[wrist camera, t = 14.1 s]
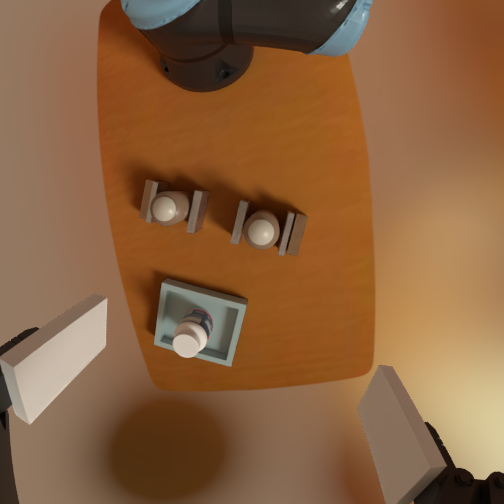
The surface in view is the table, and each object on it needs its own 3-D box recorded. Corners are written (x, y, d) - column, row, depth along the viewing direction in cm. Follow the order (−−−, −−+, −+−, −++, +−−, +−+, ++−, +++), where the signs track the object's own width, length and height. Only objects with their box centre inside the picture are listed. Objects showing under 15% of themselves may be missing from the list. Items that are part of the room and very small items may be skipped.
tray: (167, 278, 49) (161, 282, 47) (248, 299, 49) (246, 305, 46) (158, 338, 52) (154, 344, 49) (232, 359, 51) (230, 366, 49)
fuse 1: (172, 188, 46) (151, 188, 37) (199, 194, 46) (183, 195, 37) (167, 216, 47) (145, 222, 38) (193, 222, 47) (176, 230, 38)
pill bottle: (214, 336, 50) (203, 364, 42) (185, 333, 51) (169, 359, 42) (214, 308, 49) (202, 333, 40) (184, 305, 49) (167, 328, 41)
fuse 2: (252, 206, 46) (247, 210, 37) (281, 213, 46) (283, 219, 37) (245, 235, 47) (239, 245, 38) (274, 242, 47) (274, 254, 38)
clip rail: (153, 179, 46) (140, 179, 41) (305, 214, 45) (309, 218, 41) (146, 215, 47) (133, 218, 42) (295, 252, 47) (298, 259, 42)
